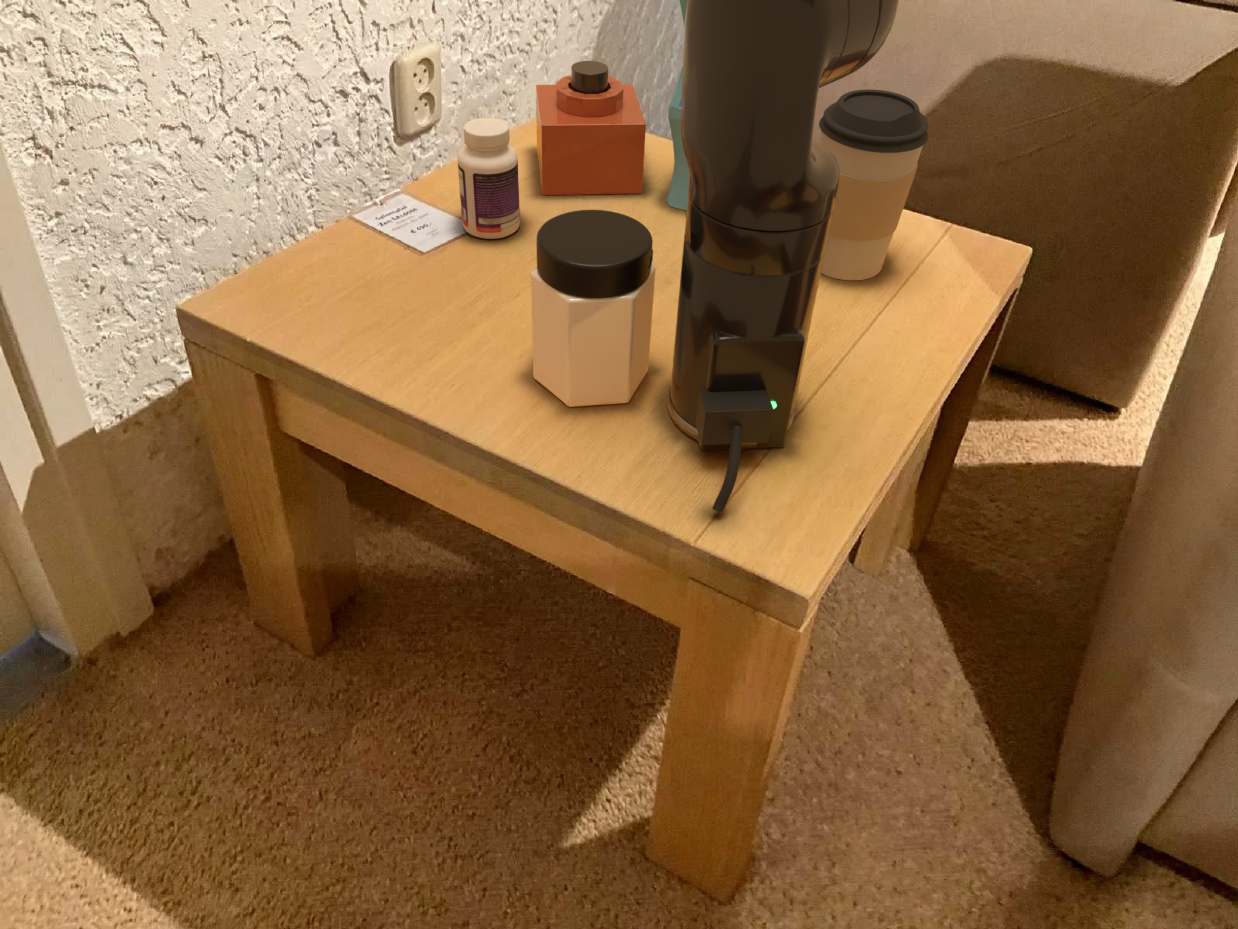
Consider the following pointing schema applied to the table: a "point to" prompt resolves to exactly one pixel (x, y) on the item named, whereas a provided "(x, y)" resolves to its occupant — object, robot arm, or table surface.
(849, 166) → the coffee cup
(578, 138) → the orange box with knob
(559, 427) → the table surface
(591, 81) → the box button
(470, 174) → the pill bottle
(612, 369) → the jar
